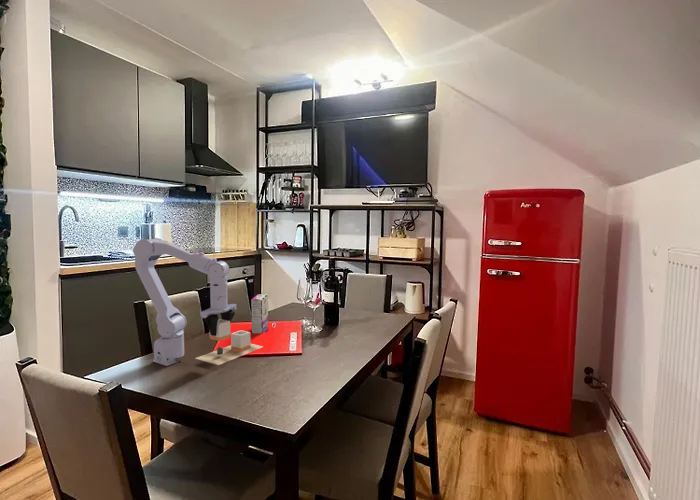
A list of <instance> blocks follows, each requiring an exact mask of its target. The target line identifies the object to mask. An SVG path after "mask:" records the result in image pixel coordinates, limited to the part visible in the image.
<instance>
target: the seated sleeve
mask: <svg viewBox="0 0 700 500" xmlns="http://www.w3.org/2000/svg"><path fill="white" fill-rule="evenodd" d="M251 342H252V341H251V332H250V331H246V330H237V331H235V332H230V345H231V349H233V350H237V351H243V350H246V349H248V348H251V344H252V343H251Z"/></svg>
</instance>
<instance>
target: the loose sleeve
mask: <svg viewBox="0 0 700 500" xmlns="http://www.w3.org/2000/svg"><path fill="white" fill-rule="evenodd" d="M208 331H209V330H208ZM208 335H209V338H208V339H210V340H213V341H217V342H221V341H224V340H226V339H229V338H230V339H231V323H230V321H228V320H223V319H222V318H219V319H218V322H217V333H216V336H212V335H211V334H210V331H209V334H208Z"/></svg>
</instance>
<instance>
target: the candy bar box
mask: <svg viewBox="0 0 700 500" xmlns="http://www.w3.org/2000/svg"><path fill="white" fill-rule="evenodd" d="M268 297H269V294H267V293H264V294H262V293H260V294H259V293H258V294H256V295H255V296H253V298H251V300H250V305H251V306H250V308H251V310H250V311H251V334H263V333H265V332H267V331H268V330H269V301H268V300H269V299H268Z"/></svg>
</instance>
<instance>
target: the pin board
mask: <svg viewBox="0 0 700 500" xmlns="http://www.w3.org/2000/svg"><path fill="white" fill-rule="evenodd" d="M263 348H264V346H263V345H258V344H254V343H251V348H248V349H246V350H243V351H237V350H233V349H231V344H230V345H227V346H225V347H222V346H218V347H217V348H216V350H214V351H211V352H209V353H206V354H203V355H200V356H197V357H194V359H195V360H199V361H203V362H206V363H209V364H213V365H216V366H220V365H223V364H225V363H228V362H229V361H232V360H235V359H237V358H238V359H239V358H241V357H242V356H246V355H247V354H250V353H252V352H254V351H257V350H259V349H263Z"/></svg>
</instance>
